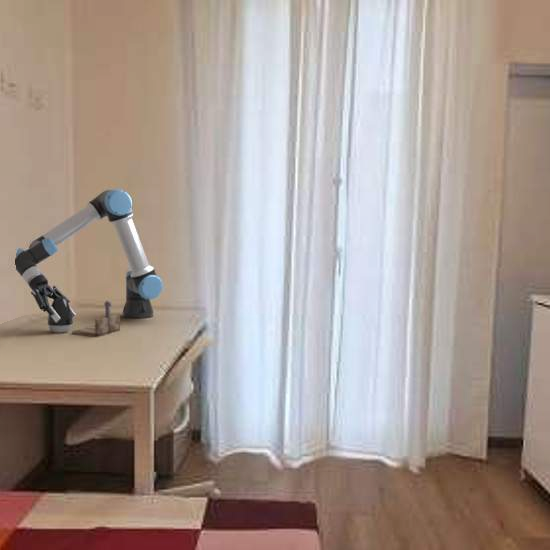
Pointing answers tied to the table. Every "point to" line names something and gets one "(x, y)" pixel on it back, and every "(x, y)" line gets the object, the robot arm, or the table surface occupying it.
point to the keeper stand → (102, 324)
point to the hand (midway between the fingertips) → (66, 318)
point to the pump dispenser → (61, 316)
